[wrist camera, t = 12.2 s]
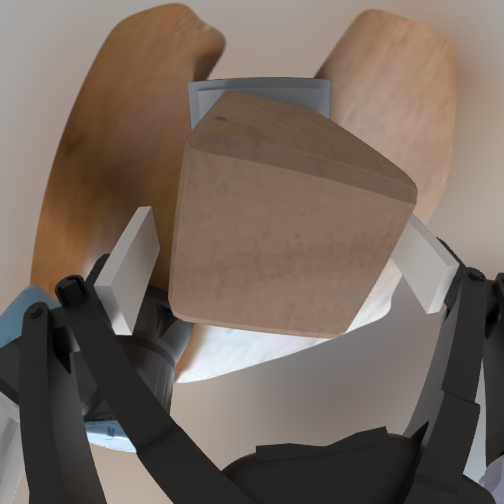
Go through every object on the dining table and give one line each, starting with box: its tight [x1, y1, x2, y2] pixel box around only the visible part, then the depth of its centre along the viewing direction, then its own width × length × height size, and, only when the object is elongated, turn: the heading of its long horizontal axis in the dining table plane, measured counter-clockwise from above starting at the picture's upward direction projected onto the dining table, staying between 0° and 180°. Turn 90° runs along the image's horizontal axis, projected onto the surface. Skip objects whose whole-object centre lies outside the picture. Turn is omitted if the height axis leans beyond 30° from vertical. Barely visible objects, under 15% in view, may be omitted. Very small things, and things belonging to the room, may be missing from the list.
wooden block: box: [168, 91, 418, 339], centre depth 21 cm, size 10×10×20 cm
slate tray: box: [188, 77, 330, 130], centre depth 30 cm, size 14×14×3 cm
